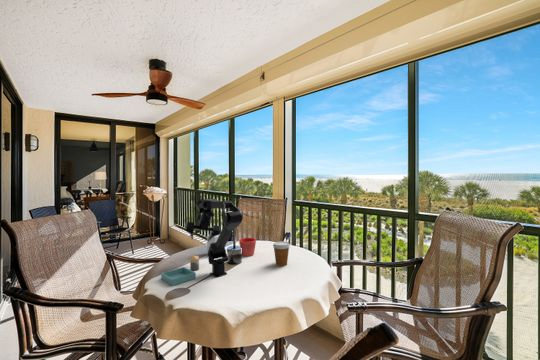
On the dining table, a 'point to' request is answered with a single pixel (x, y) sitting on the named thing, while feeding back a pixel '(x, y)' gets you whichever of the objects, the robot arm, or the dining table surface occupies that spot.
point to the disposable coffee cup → (281, 252)
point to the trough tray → (178, 276)
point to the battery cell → (194, 263)
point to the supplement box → (211, 241)
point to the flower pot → (247, 246)
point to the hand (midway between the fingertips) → (200, 239)
